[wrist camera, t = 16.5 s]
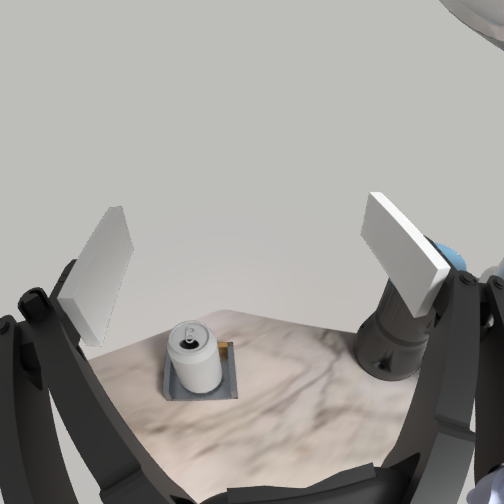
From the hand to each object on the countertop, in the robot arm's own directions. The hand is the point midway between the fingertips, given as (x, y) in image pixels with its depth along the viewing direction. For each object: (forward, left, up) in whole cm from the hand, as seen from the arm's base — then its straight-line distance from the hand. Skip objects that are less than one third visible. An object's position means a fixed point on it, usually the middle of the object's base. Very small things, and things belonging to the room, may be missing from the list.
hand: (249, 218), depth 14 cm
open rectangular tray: (+7, -13, -37) cm, 40 cm away
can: (+7, -12, -37) cm, 40 cm away
